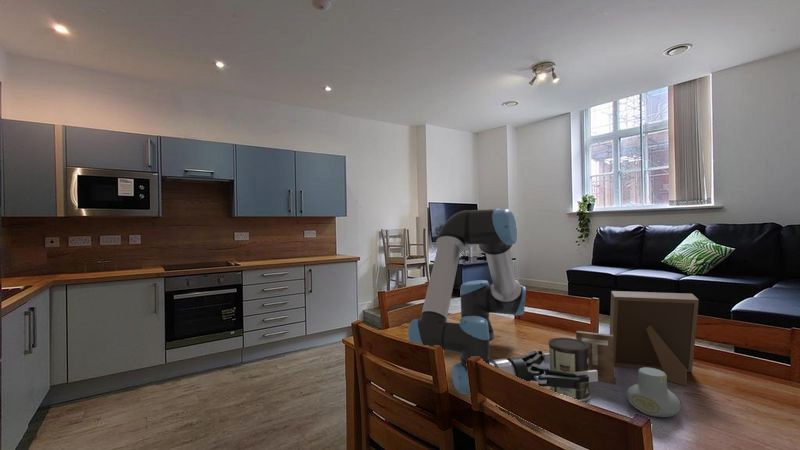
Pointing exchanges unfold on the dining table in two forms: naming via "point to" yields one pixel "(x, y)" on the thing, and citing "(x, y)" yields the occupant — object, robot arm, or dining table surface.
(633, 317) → the photo frame
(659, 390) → the air freshener
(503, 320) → the dining table surface
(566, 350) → the coffee can
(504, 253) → the robot arm
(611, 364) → the letter tile
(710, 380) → the dining table surface
